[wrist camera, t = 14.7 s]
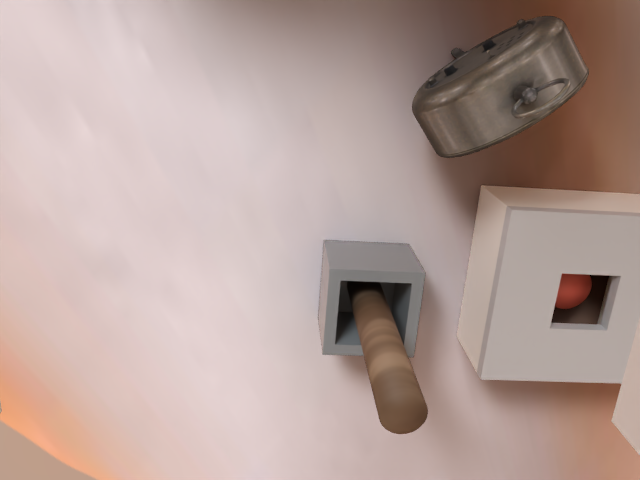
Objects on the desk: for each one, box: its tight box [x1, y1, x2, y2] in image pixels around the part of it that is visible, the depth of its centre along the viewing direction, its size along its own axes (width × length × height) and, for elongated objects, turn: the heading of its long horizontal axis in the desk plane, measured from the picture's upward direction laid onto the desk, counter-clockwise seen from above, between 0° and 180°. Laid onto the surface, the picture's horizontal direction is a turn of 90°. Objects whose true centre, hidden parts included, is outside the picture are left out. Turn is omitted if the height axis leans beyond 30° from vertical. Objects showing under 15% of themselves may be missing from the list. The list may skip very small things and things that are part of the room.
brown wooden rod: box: [347, 281, 428, 434], centre depth 43 cm, size 3×3×18 cm
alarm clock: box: [412, 16, 589, 158], centre depth 39 cm, size 11×5×16 cm, turn 123°
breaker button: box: [555, 273, 592, 309], centre depth 50 cm, size 4×4×3 cm
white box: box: [456, 185, 640, 384], centre depth 49 cm, size 14×14×7 cm
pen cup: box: [318, 240, 425, 357], centre depth 49 cm, size 7×7×6 cm
